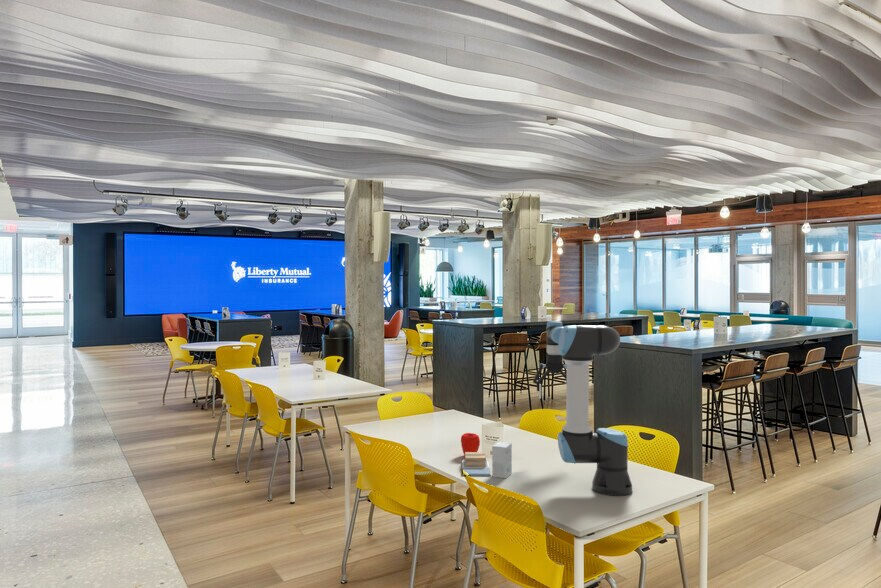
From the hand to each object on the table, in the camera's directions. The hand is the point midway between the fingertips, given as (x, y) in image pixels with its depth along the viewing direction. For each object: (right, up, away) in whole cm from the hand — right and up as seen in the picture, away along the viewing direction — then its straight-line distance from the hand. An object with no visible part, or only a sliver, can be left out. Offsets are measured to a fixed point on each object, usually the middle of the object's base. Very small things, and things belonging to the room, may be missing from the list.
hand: (554, 398), depth 278 cm
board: (-39, -27, -21) cm, 52 cm away
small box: (-28, -27, -29) cm, 49 cm away
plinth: (-39, -26, -17) cm, 50 cm away
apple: (-40, -27, -1) cm, 49 cm away
